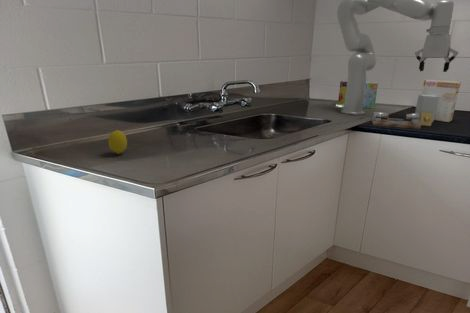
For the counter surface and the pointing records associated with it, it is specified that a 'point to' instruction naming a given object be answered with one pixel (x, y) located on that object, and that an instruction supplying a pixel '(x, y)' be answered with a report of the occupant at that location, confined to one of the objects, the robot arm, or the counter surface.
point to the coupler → (426, 118)
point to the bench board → (386, 123)
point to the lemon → (117, 141)
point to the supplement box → (427, 104)
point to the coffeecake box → (443, 97)
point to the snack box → (368, 95)
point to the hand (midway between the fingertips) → (433, 71)
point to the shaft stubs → (394, 121)
